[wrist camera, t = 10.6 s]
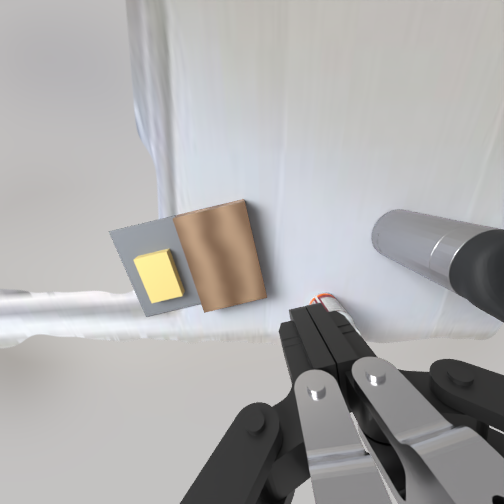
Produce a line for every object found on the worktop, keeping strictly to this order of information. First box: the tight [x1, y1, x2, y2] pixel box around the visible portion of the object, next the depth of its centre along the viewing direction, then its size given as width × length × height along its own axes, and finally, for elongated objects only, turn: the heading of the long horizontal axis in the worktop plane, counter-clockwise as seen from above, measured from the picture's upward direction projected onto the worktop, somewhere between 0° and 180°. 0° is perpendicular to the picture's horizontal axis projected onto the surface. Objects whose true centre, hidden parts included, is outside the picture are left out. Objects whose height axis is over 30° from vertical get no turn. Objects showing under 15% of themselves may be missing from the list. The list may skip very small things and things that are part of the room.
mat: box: [109, 216, 201, 317], centre depth 44 cm, size 12×18×1 cm, turn 13°
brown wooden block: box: [173, 199, 267, 313], centre depth 42 cm, size 12×18×4 cm, turn 13°
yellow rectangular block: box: [134, 249, 185, 303], centre depth 43 cm, size 6×9×2 cm, turn 13°
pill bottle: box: [309, 293, 361, 336], centre depth 44 cm, size 6×6×11 cm
